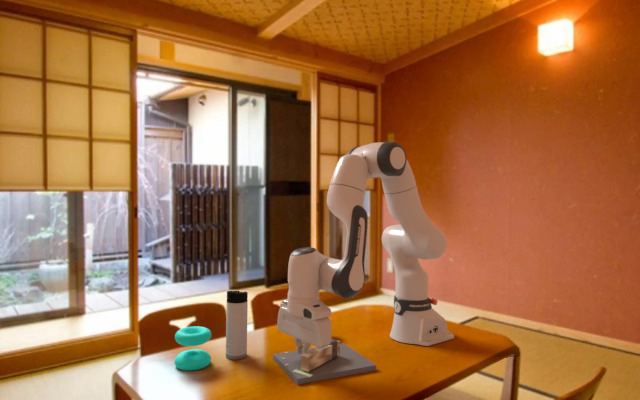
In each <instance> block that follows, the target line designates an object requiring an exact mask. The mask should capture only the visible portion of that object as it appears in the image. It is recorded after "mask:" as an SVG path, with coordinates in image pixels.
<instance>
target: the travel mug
mask: <svg viewBox="0 0 640 400" xmlns="http://www.w3.org/2000/svg"><path fill="white" fill-rule="evenodd" d="M248 295H249V294H248V292H247V291H240V290H227V291H226V314H225V315H226V317H225V318H226V320H225V358H227V359H230V360H241V359H245V358H246V357H247V355H248V305H249V303H248V302H249V301H248Z"/></svg>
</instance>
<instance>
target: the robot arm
mask: <svg viewBox="0 0 640 400" xmlns="http://www.w3.org/2000/svg"><path fill="white" fill-rule="evenodd" d="M378 178H380V180H381V184H382V185H381V186H382V190H383V193H384V198H385V203H386V206H387V210H388V213H389V215H390V217H392V218H393V219H394V220H395V221H397V222H398V224H393V225H389V226H387V227H386V228H384V230H383V231H382V235H381V243H382V244H381V245H382V246H383V248H384V250H385V251H387V253H388V255H389V257H390V258H391V261H392V265H393V270H394V275H395V276H394V277H395V280H394V281H395V282H394V283H395V288H394V289H395V292H394V293H395V294H394V296H393V311H394V313H393V314H394V315H393V319H392V325H391V330H390V333H389V337H390V338H391V339H392V340H394V341H396V342H399V343H403V344H411V345H419V346H425V347H429V346H433V345H436V344H440V343H443V342H446V341H449V340H453V339H455V335H454V334H453V332H451V331H449V330H448V325H447V320H446V318H444V316H442V315H441V314H440V313H438V312H437V311H436V310H435V309H434V308H433V306H432V305H434V306H437V305H438V299H435V298H433V297H432V298H430V297H429V296H428V295H429V275H428V274H427V272H426V271H425V270H424V269H423V267H422V266H421V263H420V261H419V259H420V260H436V259H440V258H442V256H443V255H444V254H445V252H446V250H447V245H448V243H447V237H446V235H445V233H444V232H443V231H442V230H440V229H438V228H437V227H436V226H435V225H434V224H433V222H432V221H431V219H430V218H429V216H428V215H427V213H426V211H425V208H424V207H423V204H422V203H421V199H420V195H419V191H418V186H417V183H416V179H415V178H416V177H415V175H414V172H413V169H412V167H411V164H410V163H409V160H408V159H407V154H406V151H405V149H404V148H403V146H402V145H401V144H399V143H398V142H395V141H383V142H379V141H378V142H371V143H368V144H364V145H358V146H355V147H352V148H351V149H350V150H349V151H348V152H347V153H346V154H345V155H343V156H341V157H339V159H338V162H337V164H336V165H335V168H334V170H333V173H332V176H331V179H330V181H329V187H328V190H327V193H326V194H327V195H326V205H327V208H328V209H329V211H330V213H332V215H334V216H335V217H336V218H337V219H339V220H340V221H341V222H342V223H343V224H344V227H345V229H346V237H345V246H344V255H343V257H342V259H337V258H333V257H329V256H327V255H324V254H322V253H321V252H319V251H318V249H316V248H315V247H309V246H307V247H300V248H297V249H294V250H293V251H292V252H291V253H290V256H289V260H288V267H287V282H288V291H287V299H284V300H282V301H281V302H280V305H279V306H280V308H279V309H278V314H277V324H276V325H277V330H278V331H279V332H281V333H283V334H286V335H288V336H291V337H292V338H293V340H294V344H295V347H296V351H297V353H298V354H301V355H302V354H304V353H306V352H308V349H310V348H311V346H314V347H315V348H317V347H319V348H323V347H326V346H329V344H330V343H331V339H332V321H331V319H330V318H329V317H331V316H332V309H331V308H330V307H329V306H328V305H326V304H325V303H324V302H323V301H322V300H321V299H320V290H321V291H322V290H323V291H325V292H329V293H332V294H335V295H337V296H339V297H342V298H345V299H350V298H351V299H352V298H355V296H357V295H359V293H360V292H361V291H362V289H363V288H364V286H365V282H366V271H365V270H366V269H365V258H366V247H367V237H368V236H367V235H368V224H369V223H368V221H369V218H368V211H366V209H365V206H364V205H365V204H364V203H365V202H364V201H365V194H366V189H367V183H368V180H369V179H378Z"/></svg>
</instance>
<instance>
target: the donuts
mask: <svg viewBox="0 0 640 400" xmlns="http://www.w3.org/2000/svg"><path fill="white" fill-rule="evenodd" d="M211 338H212V331H211V330H210V329H209V328H207V327H205V326H199V325H197V326H195V325H194V326H186V327H183V328H180V329H178V330H177V331H176V332H175V334H174V340H175V342H176V343H178V344H179V345H180V346H184V347H196V346H198V347H199V346H201V345H204V344H206V343H207V342H208V341H210V340H211ZM211 361H212V357H211V354H210V353H209V352H208V351H206V350H204V349H200V348H192V349H187V350H183V351H181V352H180V353H178V354H177V355H176V357H175V358H174V365H175V367H176V368H178V369H180V370H182V371H197V370H202V369H204V368H206V367H208V366H209V365H210V364H211Z"/></svg>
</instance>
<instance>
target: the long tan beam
mask: <svg viewBox="0 0 640 400" xmlns="http://www.w3.org/2000/svg"><path fill="white" fill-rule="evenodd" d="M340 344H341V340H339V339H338V340H337V339H333V338H331V343H330V344H329V346H326V347H323V348H319V347H314V348H315V349H313V350H311V351H308V352H306V353H304V354H302V355H301V370H304V371H307V372H309V371H311V370H313V369H314V368H316V367H318V366H320V365H322V364H323V363H325V362H327V361H329V360H331V359H335V358H337V356H338V355H340Z"/></svg>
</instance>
